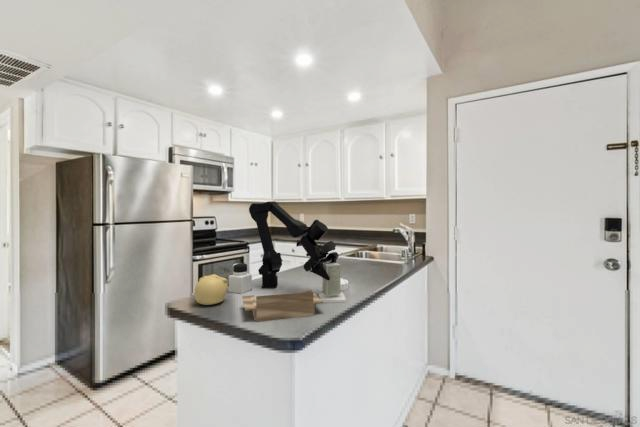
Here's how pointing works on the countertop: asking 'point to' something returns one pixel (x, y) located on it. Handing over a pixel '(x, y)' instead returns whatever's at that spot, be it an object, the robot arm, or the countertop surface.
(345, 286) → the round white container
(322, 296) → the pad
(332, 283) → the skincare box
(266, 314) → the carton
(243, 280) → the medicine bottle
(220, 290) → the yellow round lump
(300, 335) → the countertop surface
